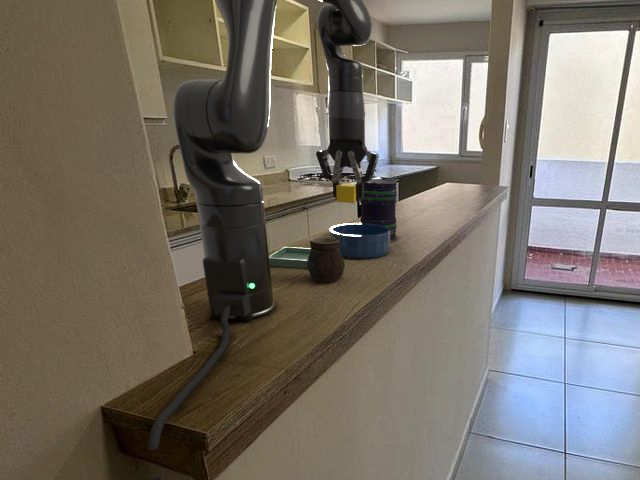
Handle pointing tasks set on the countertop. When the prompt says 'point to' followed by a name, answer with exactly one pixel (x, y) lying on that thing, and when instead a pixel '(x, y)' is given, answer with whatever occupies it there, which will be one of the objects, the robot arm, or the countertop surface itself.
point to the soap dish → (290, 257)
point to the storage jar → (379, 204)
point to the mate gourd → (326, 259)
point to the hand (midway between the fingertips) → (348, 199)
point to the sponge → (346, 193)
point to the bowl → (362, 240)
